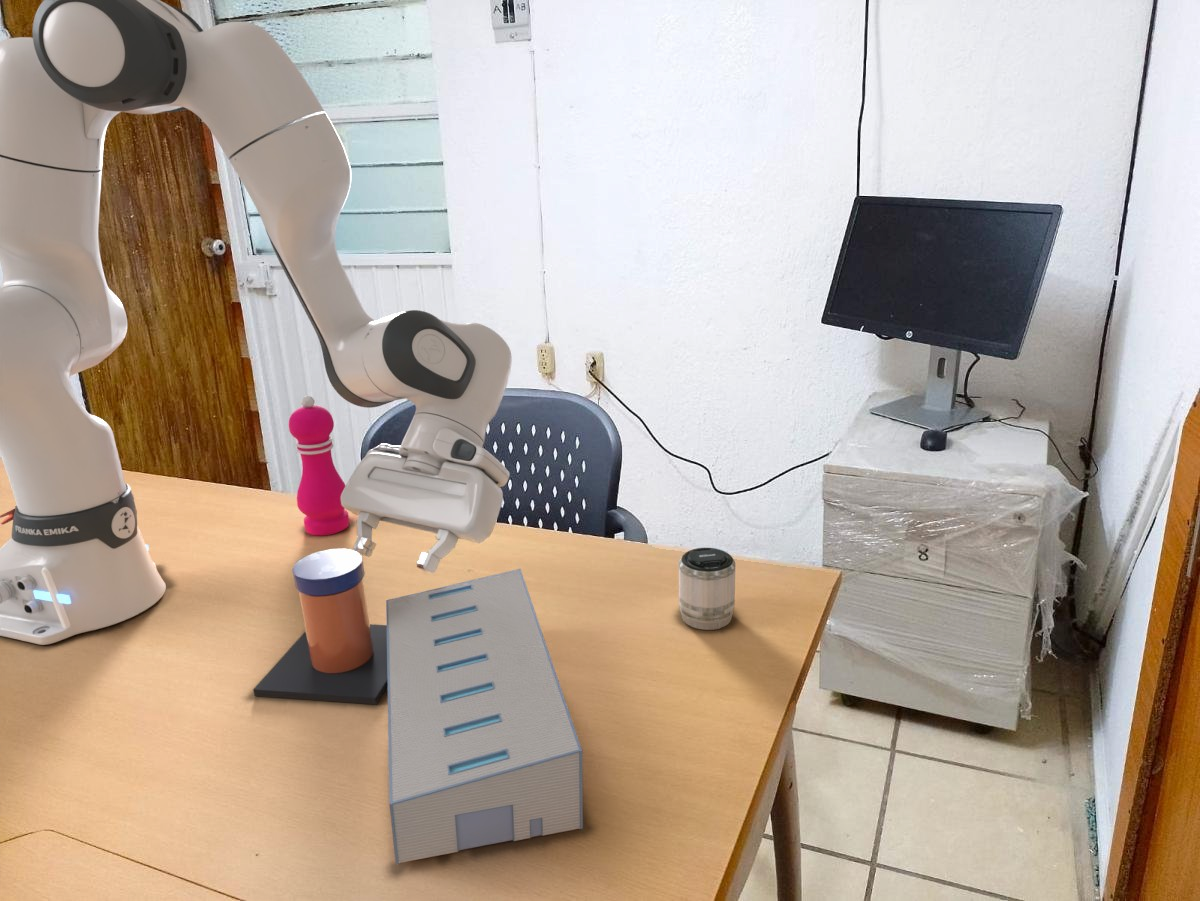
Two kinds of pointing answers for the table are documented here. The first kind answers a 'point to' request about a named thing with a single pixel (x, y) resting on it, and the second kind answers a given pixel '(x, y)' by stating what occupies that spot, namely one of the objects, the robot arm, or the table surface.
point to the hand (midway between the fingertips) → (392, 562)
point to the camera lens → (706, 588)
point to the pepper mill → (318, 470)
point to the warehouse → (476, 722)
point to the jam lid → (328, 572)
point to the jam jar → (337, 629)
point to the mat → (328, 676)
